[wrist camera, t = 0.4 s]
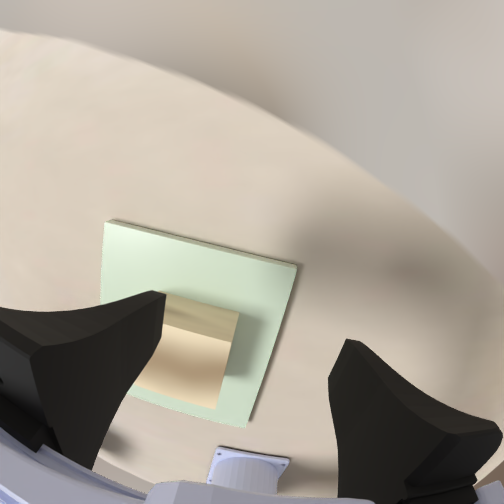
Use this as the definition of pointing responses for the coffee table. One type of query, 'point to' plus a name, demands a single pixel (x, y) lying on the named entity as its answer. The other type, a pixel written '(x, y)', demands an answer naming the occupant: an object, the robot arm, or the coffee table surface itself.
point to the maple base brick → (191, 352)
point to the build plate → (206, 291)
